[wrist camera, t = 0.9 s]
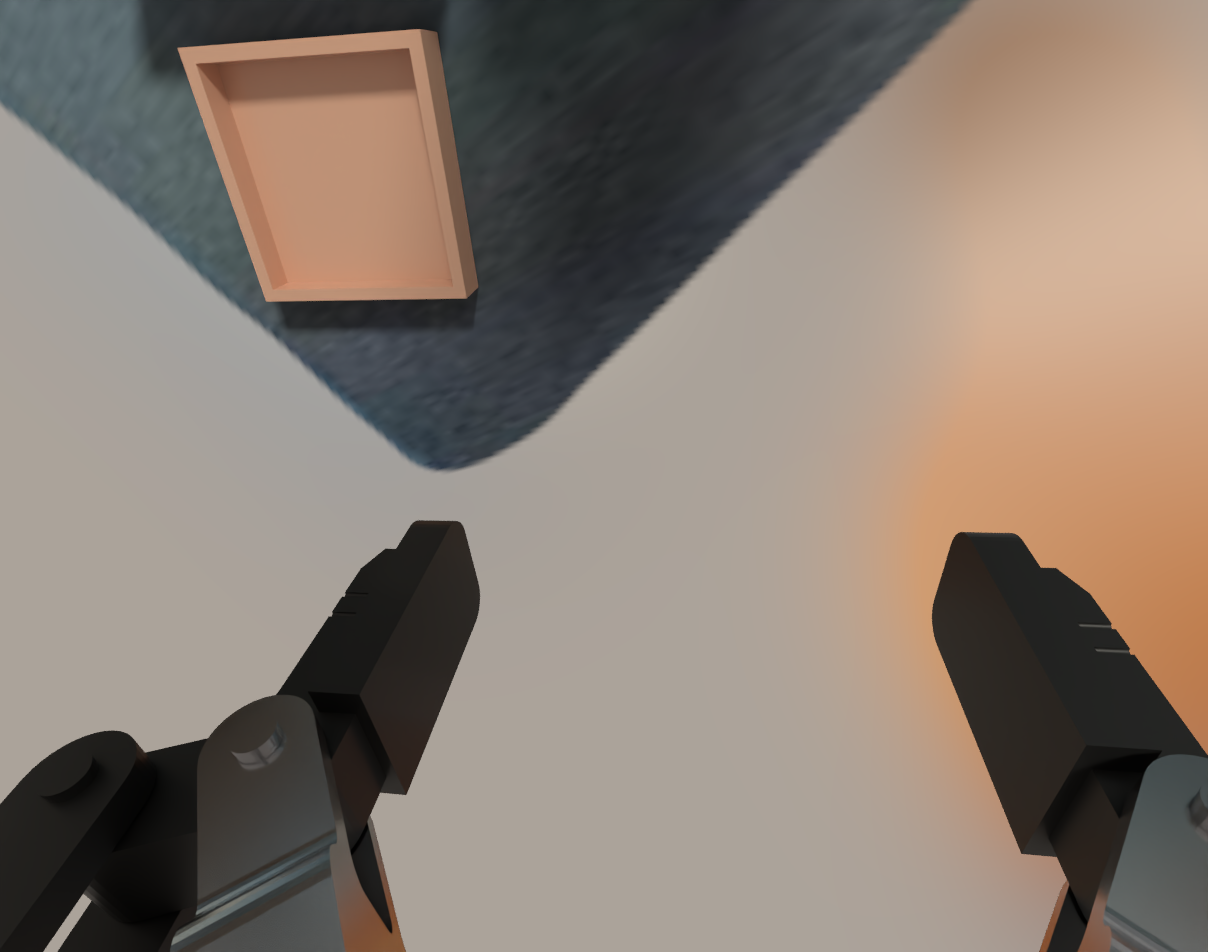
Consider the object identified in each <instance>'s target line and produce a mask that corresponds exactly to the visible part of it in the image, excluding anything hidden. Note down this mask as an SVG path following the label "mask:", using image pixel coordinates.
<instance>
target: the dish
mask: <svg viewBox="0 0 1208 952" xmlns="http://www.w3.org/2000/svg"><path fill="white" fill-rule="evenodd" d="M178 51H179V54H180V57H181V60H182V62H183V65H184V68H185V71H186V74H187V77H188V80H189V82H190V85H191V88H192V91H193V94H194V97H195V100H196V102H197V105H198V108H199V111H200V114H201V117H202V119H203V122H204V125H205V128H206V131H207V134H208V137H209V139H210V142H211V145H212V148H213V151H214V154H215V157H216V159H217V162H218V165H219V168H220V171H221V174H222V177H223V179H224V182H225V185H226V188H227V191H228V194H229V196H230V199H231V202H232V205H233V208H234V211H235V214H236V216H237V219H238V222H239V225H240V228H241V231H242V234H243V236H244V239H245V242H246V245H247V248H248V251H249V254H250V256H251V259H252V262H253V265H254V268H255V271H256V273H257V276H258V279H259V282H260V285H261V288H262V291H263V293H264V296H265V299H266V302H269V301H334V300H399V299H464V298H468V297H469V296H470V295H471V294H472V293H473V292H474V291H475V290H476V289H477V288H478V281H477V275H476V269H475V263H474V257H473V250H472V244H471V238H470V232H469V226H468V219H467V213H466V207H465V201H464V195H463V189H462V182H461V176H460V170H459V164H458V158H457V151H456V145H455V139H454V133H453V127H452V121H451V114H450V108H449V102H448V96H447V90H446V84H445V77H444V71H443V65H442V59H441V53H440V46H439V40H438V34H437V32H435V31H429V30H423V29H413V30H400V31H388V32H375V33H362V34H349V35H336V36H324V37H311V38H298V39H285V40H272V41H260V42H247V43H234V44H221V45H208V46H196V47H183V48H178Z"/></svg>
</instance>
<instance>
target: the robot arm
mask: <svg viewBox="0 0 1208 952" xmlns="http://www.w3.org/2000/svg"><path fill="white" fill-rule="evenodd" d="M345 593H346V595H345V597H342V598H341V599H340V601H339V602H338V604H337V605H336V607H335V608H334V610H333V611H332V612H333V615H332V617H328V619H327V620H326V622H325V623H324V625H323V626H322V628H321V629H320V631H319V632H318V634H317V635H316V637H315V638H314V640H313V641H312V643H311V644H310V646H309V647H308V649H307V650H306V652H305V653H304V655H303V656H302V658H301V659H300V661H299V662H298V664H297V665H296V667H295V668H294V670H293V671H292V673H291V674H290V676H289V677H288V679H287V680H286V682H285V683H284V685H283V686H282V688H281V689H280V690H279V692H278V693H277V694H276V695H274V696H269V697H265V698H262V699H259V700H257V701H254V702H252V703H250V704H248V705H246V706H244V707H242V708H241V709H239V710H237V711H236V712H234V713H233V714H232V715H230V716H229V717H228V718H226V719H225V720H224V721H223V722H222V723H221V724H220V725H219V726H218V727H217V728H216V729H215V730H214V731H213V733H212V734H211V735H210V737H209V738H208V739H203V740H199V741H194V742H190V743H186V744H181V745H177V746H172V747H168V748H164V749H159V750H155V751H151V752H147V753H145V752H144V751H143V750H142V749H141V747H140V746H139V745H138V744H137V743H136V741H135V740H134V739H133V738H132V737H131V736H130V735H128V734H127V733H124V732H121V731H103V732H98V733H94V734H90V735H87V736H84V737H82V738H80V739H77V740H75V741H73V742H71V743H69V744H67V745H65V746H63V747H62V748H60V749H58V750H57V751H55V752H54V753H52V754H51V755H49V756H48V757H47V758H45V759H44V760H43V761H41V762H40V763H39V764H38V765H37V766H35V767H34V768H33V769H32V770H31V771H30V772H29V773H28V774H27V775H26V776H25V777H24V778H23V779H22V780H21V781H20V782H19V784H18V785H17V786H16V787H15V788H14V789H13V790H12V792H11V793H10V794H9V795H8V796H7V797H6V798H5V799H4V801H3V802H2V803H1V804H0V952H43V951H44V950H45V948H46V947H47V945H48V944H49V942H50V941H51V939H52V938H53V937H54V935H55V934H56V932H57V931H58V929H59V928H60V926H61V925H62V923H63V922H64V921H65V919H66V918H67V916H68V915H69V913H70V912H71V910H72V909H73V907H74V906H75V905H76V903H77V902H78V900H79V899H80V897H81V896H82V894H84V895H86V896H87V897H88V898H89V899H90V900H92V901H91V903H90V904H89V906H88V907H87V909H86V910H85V912H84V913H83V915H82V916H81V918H80V919H79V921H78V922H77V924H76V925H75V927H74V928H73V929H72V931H71V932H70V934H69V935H68V937H67V939H66V940H65V941H64V943H63V945H62V946H61V947H60V949H59V950H58V952H406V950H405V947H404V944H403V940H402V937H401V933H400V929H399V925H398V921H397V917H396V913H395V910H394V905H393V901H392V897H391V893H390V889H389V885H388V881H387V877H386V873H385V869H384V865H383V861H382V857H381V853H380V849H379V845H378V841H377V837H376V833H375V829H374V825H373V821H372V819H371V817H370V814H371V812H372V809H373V807H374V805H375V803H376V800H377V798H378V796H379V794H380V793H392V794H402V795H406V794H407V792H408V789H409V787H410V784H411V782H412V779H413V777H414V774H415V772H416V769H417V767H418V764H419V762H420V760H421V757H422V754H423V752H424V749H425V747H426V744H427V742H428V740H429V737H430V734H431V732H432V729H433V727H434V724H435V722H436V720H437V717H438V715H439V712H440V710H441V707H442V705H443V702H444V700H445V697H446V695H447V692H448V690H449V687H450V685H451V682H452V679H453V677H454V675H455V672H456V670H457V667H458V665H459V662H460V660H461V657H462V655H463V652H464V650H465V647H466V645H467V642H468V639H469V637H470V635H471V632H472V630H473V627H474V624H475V622H476V619H477V616H478V611H479V604H480V590H479V584H478V580H477V576H476V572H475V568H474V565H473V561H472V557H471V553H470V549H469V546H468V541H467V538H466V534H465V530H464V528H463V526H462V524H461V523H460V522H458V521H420V520H419V521H415V522H414V523H413V524H412V525H411V526H410V528H409V529H408V531H407V532H406V534H405V536H404V537H403V539H402V540H401V542H400V544H399V545H398V547H397V548H396V549H385V550H383V551H382V552H381V553H380V554H378V555H377V556H376V557H375V558H374V559H372V560H371V561H370V562H369V563H367V564H366V565H365V566H364V567H362V568H361V569H360V571H359V572H358V574H357V575H356V577H355V579H354V580H353V581H352V583H351V584H350V586H349V587H348V589H347V590H346V592H345ZM932 624H933V632H934V637H935V640H936V643H937V646H938V648H939V651H940V653H941V656H942V658H943V661H944V663H945V666H946V668H947V670H948V673H949V675H950V678H951V680H952V683H953V685H954V688H955V690H956V693H957V695H958V698H959V700H960V703H961V705H962V708H963V710H964V713H965V715H966V718H967V720H968V723H969V725H970V728H971V730H972V733H973V735H974V737H975V740H976V742H977V745H978V747H979V750H980V752H981V755H982V757H983V759H984V762H985V765H986V767H987V769H988V772H989V774H990V777H991V780H992V782H993V784H994V787H995V789H996V792H997V794H998V797H999V799H1000V802H1001V804H1002V807H1003V809H1004V812H1005V814H1006V817H1007V819H1008V822H1009V824H1010V827H1011V829H1012V831H1013V834H1014V836H1015V839H1016V841H1017V844H1018V846H1019V849H1020V851H1021V854H1031V855H1041V856H1053V857H1057V858H1058V860H1059V863H1060V865H1061V867H1062V869H1063V871H1064V874H1065V876H1066V878H1067V881H1066V882H1065V883H1064V885H1063V887H1062V889H1061V891H1060V893H1059V896H1058V899H1057V902H1056V904H1055V907H1054V911H1053V913H1052V916H1051V919H1050V922H1049V925H1048V928H1047V930H1046V933H1045V936H1044V939H1043V942H1042V945H1041V948H1040V951H1039V952H1208V755H1207V754H1206V753H1205V751H1204V750H1203V748H1202V747H1201V746H1200V744H1199V743H1198V741H1197V740H1196V739H1195V737H1194V736H1193V735H1192V733H1191V732H1190V731H1189V729H1188V728H1187V726H1186V725H1185V724H1184V722H1183V721H1182V720H1181V718H1180V717H1179V715H1178V714H1177V713H1176V711H1175V710H1174V709H1173V707H1172V706H1171V704H1170V703H1169V702H1168V700H1167V699H1166V698H1165V696H1164V695H1163V694H1162V692H1161V691H1160V689H1159V688H1158V687H1157V685H1156V684H1155V683H1154V681H1153V680H1152V678H1151V677H1150V676H1149V674H1148V673H1147V672H1146V670H1145V669H1144V667H1143V666H1142V665H1141V663H1140V662H1139V661H1138V659H1137V658H1136V657H1135V655H1131V654H1130V652H1129V649H1130V648H1129V647H1128V645H1127V644H1126V643H1125V641H1124V640H1123V639H1122V637H1121V636H1120V634H1119V633H1118V632H1117V630H1116V629H1112V628H1111V622H1110V621H1109V619H1108V618H1107V617H1106V615H1105V614H1104V612H1102V610H1101V608H1100V607H1099V606H1098V604H1097V603H1096V601H1095V600H1094V599H1093V598H1092V596H1091V595H1090V594H1089V593H1088V592H1087V591H1085V590H1084V589H1083V588H1081V587H1080V586H1079V585H1078V584H1076V583H1075V582H1073V581H1072V580H1071V579H1070V578H1068V577H1067V576H1066V575H1064V574H1063V573H1062V572H1060V571H1059V570H1058V569H1056V568H1041V567H1040V566H1039V564H1038V563H1037V561H1036V560H1035V558H1034V557H1033V555H1032V554H1031V552H1030V551H1029V549H1028V548H1027V546H1026V545H1025V543H1024V542H1023V541H1022V539H1021V538H1020V537H1019V536H1018V535H1016V534H1013V533H974V532H960V533H958V534H957V535H956V536H955V537H954V539H953V541H952V544H951V546H950V550H949V553H948V556H947V560H946V563H945V567H944V570H943V573H942V577H941V580H940V583H939V586H938V590H937V593H936V596H935V600H934V604H933V610H932Z"/></svg>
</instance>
